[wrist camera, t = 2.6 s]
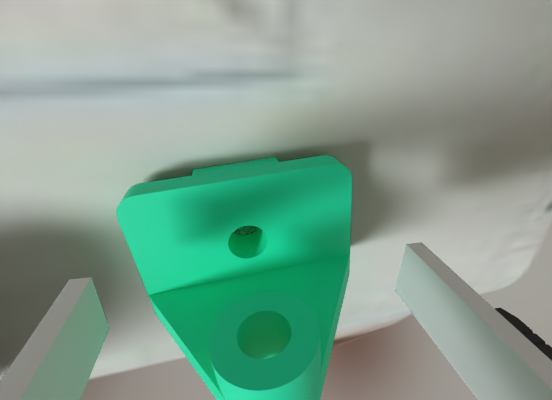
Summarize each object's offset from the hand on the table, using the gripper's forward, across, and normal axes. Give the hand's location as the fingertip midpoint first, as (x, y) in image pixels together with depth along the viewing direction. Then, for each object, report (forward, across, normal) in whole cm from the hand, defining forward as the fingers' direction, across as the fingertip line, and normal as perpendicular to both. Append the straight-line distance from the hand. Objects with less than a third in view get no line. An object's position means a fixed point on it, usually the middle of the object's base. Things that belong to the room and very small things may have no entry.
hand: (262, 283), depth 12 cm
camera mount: (+7, 0, 0) cm, 7 cm away
